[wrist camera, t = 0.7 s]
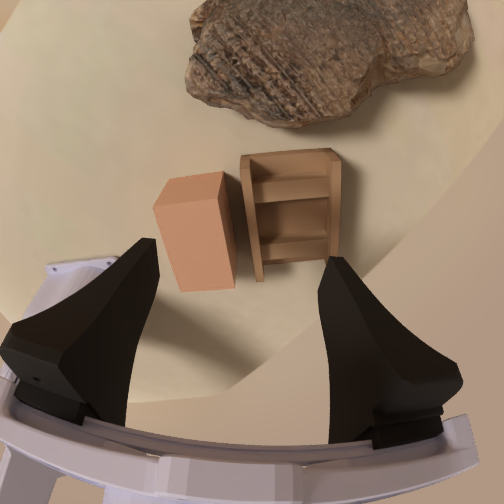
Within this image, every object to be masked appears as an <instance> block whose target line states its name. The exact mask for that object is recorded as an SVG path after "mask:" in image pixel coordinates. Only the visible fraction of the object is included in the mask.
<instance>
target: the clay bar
mask: <svg viewBox="0 0 504 504" xmlns="http://www.w3.org/2000/svg"><path fill="white" fill-rule="evenodd" d="M153 210H154V214H155V217H156V220H157V223H158V227H159V230H160V233H161V236H162V239H163V242H164V245H165V248H166V251H167V254H168V257H169V260H170V263H171V266H172V269H173V272H174V275H175V277H176V280H177V283H178V286H179V289H180V291H181V292H192V291H206V290H219V289H231V288H235V279H236V261H237V248H236V243H235V237H234V231H233V226H232V220H231V214H230V208H229V202H228V196H227V190H226V185H225V179H224V173H223V171H221V172H213V173H206V174H199V175H192V176H185V177H179V178H173V179H169V180H168V182H167V184H166V185H165V187H164V189H163V190H162V192H161V194H160V195H159V197H158V199H157V200H156V202H155V204H154V206H153Z"/></svg>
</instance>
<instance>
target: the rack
mask: <svg viewBox="0 0 504 504" xmlns="http://www.w3.org/2000/svg"><path fill="white" fill-rule="evenodd" d="M240 176H241V183H242V190H243V196H244V203H245V210H246V217H247V223H248V230H249V237H250V244H251V250H252V257H253V264H254V270H255V277H256V282H264V270H263V265H268V264H278V263H288V262H298V261H308V260H318V259H324V260H325V263H326V265H327V262H328V259H329V256H336V257H338V248H339V230H340V205H341V160H340V159H339V158H338V157H337V155H336V154H335V153H334V152H333V151H332V149H331V148H319V149H304V150H291V151H279V152H268V153H259V154H250V155H241V159H240Z"/></svg>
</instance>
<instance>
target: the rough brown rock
mask: <svg viewBox="0 0 504 504" xmlns="http://www.w3.org/2000/svg"><path fill="white" fill-rule="evenodd" d="M467 10H468V5H467V0H207V1H205V2H204V3H203V4H202V5H201V6H200V7H198V8H197V9H196V10H195V11H194V12H193V14H192V16H191V17H190V19H189V21H190V27H191V30H192V34H193V38H194V41H195V42H196V43H197V44H196V45H195V46H194V49H193V55H192V56H191V57H190V58H189V65H188V67H187V70H186V74H185V83H186V90H187V92H188V93H189V94H190V95H191V96H192V97H193V98H196V99H199V100H201V101H203V102H204V103H206V104H207V105H209V106H213V107H219V108H224V107H225V108H230V109H234V110H236V111H238V112H240V113H242V114H243V115H244V116H245V117H246V118H247V119H256V120H257V121H259V122H261V123H263V124H265V125H268V126H270V127H273V128H299V127H303V126H305V125H308V124H311V123H313V122H314V123H317V122H321V121H325V120H337V119H341V118H345V117H348V116H350V115H351V111H352V110H355V109H356V108H357V107H358V106H359V105H360V104H361V103H362V102H363V101H364V100H365V99H366V98H367V97H368V96H371V92H372V91H373V90H374V89H375V88H376V87H377V86H380V85H382V84H393V83H398V82H400V81H402V80H406V79H413V78H416V77H418V76H420V75H422V74H424V75H426V76H429V77H432V78H435V77H438V76H441V75H445V74H447V73H448V72H450V71H452V70H453V69H455V68H456V67H457V66H458V65H459V64H460V61H461V59H462V57H463V55H464V54H465V52H468V49H469V47H470V46H471V45H472V43H473V42H474V40H475V37H474V33H473V30H472V26H471V22H470V18H469V15H468V12H467Z"/></svg>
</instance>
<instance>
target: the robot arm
mask: <svg viewBox="0 0 504 504" xmlns="http://www.w3.org/2000/svg"><path fill="white" fill-rule="evenodd" d="M109 262H111V263H109ZM45 271H46V272H47V274H48V276H47V277H46V279H45V280H44V282H43V283H42V285H41V286H40V288H39V290H38V291H37V293H36V294H35V296H34V297H33V299H32V301H31V302H30V304H29V306H28V307H27V309H26V311H25V313H24V315H23V318H22V320H21V321H18V322H16V323H13V324H12V326H11V328H10V329H9V331H8V333H7V335H6V337H5V339H4V340H3V342H2V344H1V346H0V355H1V357H2V359H3V360H4V364H3V366H2V368H1V370H0V441H1V442H3V443H4V445H5V446H6V449H5V452H4V454H3V457H2V460H1V464H0V504H48V502H49V499H50V496H51V493H52V490H53V488H54V485H55V482H56V479H57V478H59V477H62V476H66V475H68V476H71V477H73V478H76V479H79V480H81V481H84V482H87V483H89V484H92V485H95V486H98V487H101V488H104V489H105V492H104V498H103V504H362V503H367V502H372V501H377V500H380V499H385V498H389V497H393V496H396V495H400V494H404V493H407V492H410V491H414V490H417V489H420V488H423V487H426V486H429V485H432V484H435V483H438V482H441V481H443V480H446V479H448V478H451V477H453V476H455V475H457V474H459V473H462V472H464V471H466V470H468V469H470V468H472V467H474V466H476V465H478V464H479V458H478V453H477V449H476V445H475V441H474V437H473V433H472V429H471V426H470V422H469V418H468V415H467V414H463V415H459V416H456V417H452V418H449V419H446V420H444V421H441V417H440V415H442V414H443V412H444V411H443V407H442V405H443V404H444V403H446V402H447V401H448V400H449V399H450V398H452V397H453V396H454V395H455V394H456V393H457V392H458V391H459V390H460V389H461V387H462V385H463V379H462V377H461V374H460V371H459V368H458V366H457V363H455V362H454V361H452V360H450V359H449V358H447V357H445V356H443V355H442V354H440V353H438V352H437V351H436V350H434V349H433V348H431V347H430V346H428V345H427V344H426V343H424V342H423V341H421V340H420V339H419V338H418V337H416V336H415V335H414V334H413V333H411V332H410V331H409V330H408V329H407V328H406V327H404V326H403V325H402V324H401V323H400V322H399V321H398V320H397V319H396V318H395V317H394V316H393V315H392V314H391V313H390V312H389V311H388V310H387V309H386V308H385V307H384V306H383V305H382V304H381V303H380V302H379V300H378V299H377V298H376V297H375V296H374V295H373V294H372V292H371V291H370V290H369V289H368V288H367V286H366V285H365V284H364V283H363V281H362V280H361V279H360V278H359V276H358V275H357V274H356V273H355V271H354V270H353V269H352V268H351V266H350V265H349V264H348V263H347V261H346V260H345V259H344V258H343V257H336V256H329V259H328V262H327V265H326V268H325V271H324V274H323V277H322V280H321V282H320V285H319V288H318V306H319V314H320V320H321V325H322V330H323V335H324V340H325V345H326V351H327V356H328V363H329V380H330V425H329V441H328V444H324V445H304V446H303V445H302V446H261V445H241V444H227V443H216V442H206V441H198V440H190V439H183V438H177V437H171V436H165V435H160V434H154V433H149V432H144V431H139V430H135V429H131V428H126V427H125V420H126V409H127V400H128V392H129V385H130V379H131V374H132V368H133V363H134V358H135V354H136V349H137V345H138V342H139V339H140V336H141V333H142V330H143V327H144V325H145V322H146V319H147V317H148V314H149V311H150V309H151V306H152V303H153V300H154V298H155V294H156V290H157V286H158V282H159V278H160V272H159V264H158V256H157V247H156V239H151V238H141V239H140V240H139V241H138V242H136V243H135V244H134V245H133V246H132V247H131V248H130V249H129V250H127V251H126V252H125V253H124V254H123V255H122V256H121V257H120V258H119V259H118V258H117V257H105V258H97V259H88V260H80V261H71V262H63V263H54V264H47V265H46V266H45ZM146 453H148V454H153V455H158V456H161V457H154V456H147V454H146ZM302 466H307V467H306V468H302Z"/></svg>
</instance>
